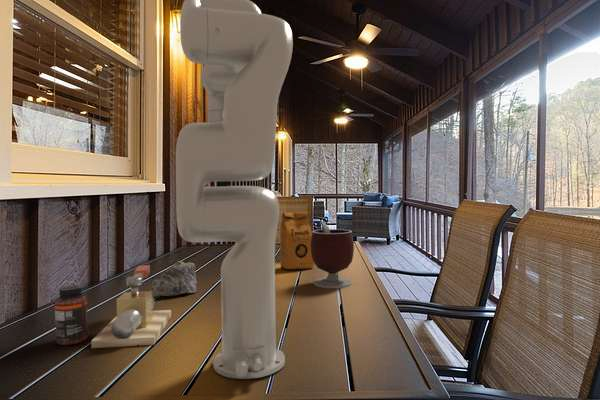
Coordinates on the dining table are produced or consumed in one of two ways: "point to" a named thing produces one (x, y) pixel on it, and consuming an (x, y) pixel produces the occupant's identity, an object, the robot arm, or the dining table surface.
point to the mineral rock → (176, 280)
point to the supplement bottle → (71, 316)
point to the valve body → (132, 312)
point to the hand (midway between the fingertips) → (223, 189)
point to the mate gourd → (332, 255)
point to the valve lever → (138, 276)
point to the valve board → (134, 333)
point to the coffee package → (295, 241)
